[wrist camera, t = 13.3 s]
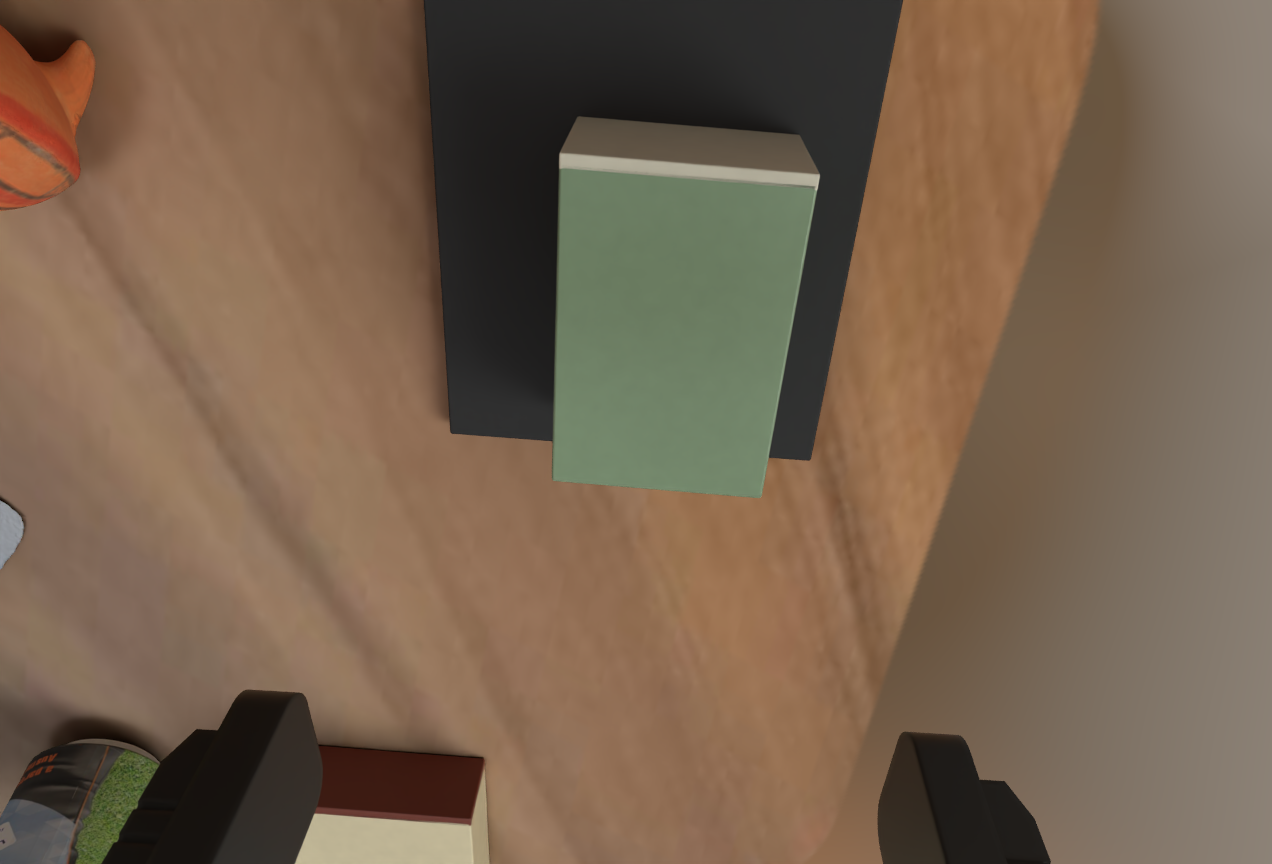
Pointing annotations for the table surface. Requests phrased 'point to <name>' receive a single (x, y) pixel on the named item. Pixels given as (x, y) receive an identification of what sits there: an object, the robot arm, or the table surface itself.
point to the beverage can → (74, 802)
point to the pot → (40, 121)
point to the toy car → (9, 532)
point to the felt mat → (635, 91)
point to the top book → (675, 302)
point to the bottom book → (398, 809)
